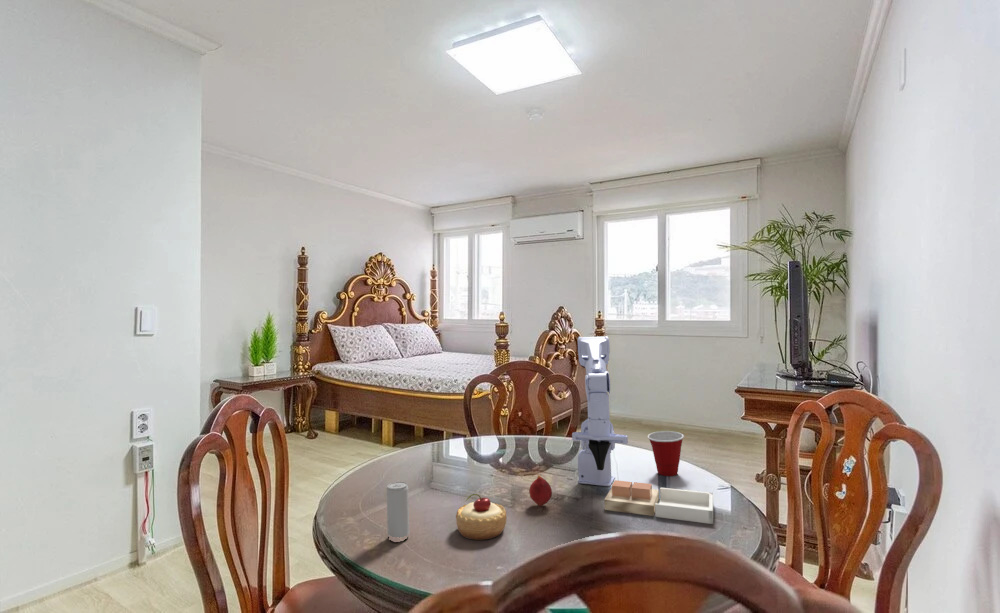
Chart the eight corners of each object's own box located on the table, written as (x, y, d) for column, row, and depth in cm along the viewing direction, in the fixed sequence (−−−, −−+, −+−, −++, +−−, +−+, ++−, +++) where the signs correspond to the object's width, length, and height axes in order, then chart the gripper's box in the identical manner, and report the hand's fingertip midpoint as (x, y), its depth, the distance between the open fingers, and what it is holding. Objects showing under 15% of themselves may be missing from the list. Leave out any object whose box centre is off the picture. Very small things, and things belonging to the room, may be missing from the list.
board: (604, 509, 123) (604, 499, 123) (613, 493, 134) (613, 484, 134) (654, 516, 118) (653, 505, 118) (659, 499, 129) (658, 489, 129)
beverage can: (389, 534, 112) (388, 482, 112) (410, 533, 112) (409, 481, 113) (386, 544, 107) (385, 489, 107) (408, 542, 107) (406, 488, 108)
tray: (655, 516, 117) (655, 504, 117) (660, 498, 129) (660, 487, 129) (713, 524, 112) (712, 511, 112) (713, 504, 124) (712, 492, 124)
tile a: (612, 495, 126) (611, 485, 126) (615, 489, 130) (615, 480, 130) (629, 497, 124) (629, 487, 124) (632, 491, 128) (632, 482, 128)
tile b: (631, 497, 124) (631, 487, 124) (634, 491, 128) (634, 482, 128) (650, 499, 122) (649, 489, 122) (652, 493, 126) (651, 484, 126)
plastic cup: (641, 471, 153) (639, 432, 153) (669, 466, 157) (667, 429, 157) (664, 481, 143) (662, 440, 143) (693, 475, 147) (691, 436, 147)
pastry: (512, 541, 108) (512, 501, 108) (459, 547, 105) (459, 506, 105) (500, 518, 120) (500, 482, 120) (452, 523, 117) (452, 486, 117)
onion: (554, 503, 128) (553, 472, 128) (549, 511, 123) (548, 479, 123) (533, 501, 130) (532, 471, 130) (527, 509, 125) (526, 477, 125)
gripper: (568, 419, 129) (570, 470, 128) (623, 422, 123) (625, 476, 123) (575, 414, 135) (577, 463, 135) (628, 417, 130) (630, 468, 129)
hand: (600, 469), depth 129 cm, fingers closed
